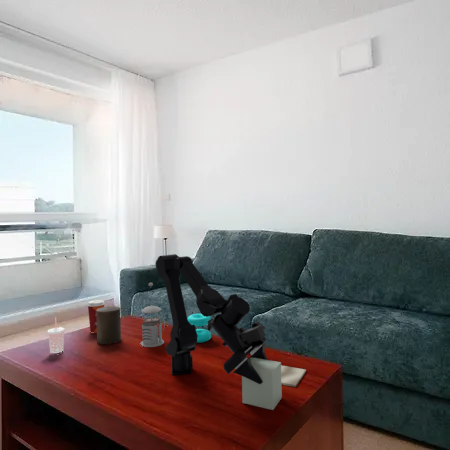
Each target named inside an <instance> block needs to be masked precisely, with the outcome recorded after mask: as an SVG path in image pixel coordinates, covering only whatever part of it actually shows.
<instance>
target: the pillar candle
mask: <svg viewBox="0 0 450 450" xmlns="http://www.w3.org/2000/svg"><path fill="white" fill-rule="evenodd" d="M121 321H122V320H121V307H120V306H109V305H108V306H104V307H103V308H99V309H97V334H96V341H97V344H99V343H100V345H103V344H107V345H111V344H110V343H114V344H116V343H115V342H117V343H119V342H121V340H122V330H121V329H122V328H121V326H122V325H121Z"/></svg>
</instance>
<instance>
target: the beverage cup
mask: <svg viewBox="0 0 450 450" xmlns="http://www.w3.org/2000/svg"><path fill="white" fill-rule="evenodd" d="M54 318H55V319H54V324H55V326H54V327H53V328H49V329H48V330H47V336H48V345H49V353H59V352H62V351H63V352H64V341H65V340H64V339H65V331H66V330H65V327H60V326H59V327H58V325H57V316H54Z"/></svg>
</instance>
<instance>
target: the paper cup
mask: <svg viewBox="0 0 450 450" xmlns="http://www.w3.org/2000/svg"><path fill="white" fill-rule="evenodd" d="M105 304H106V303H105V301H104V300H103V299H95V300H90V301H88V302H87V305H86V306H87V308H88V309H87V310H88V312H87V313H88V320H89V323H88V324H89V329H90V331H91V332H94V333H97V309H99V308H103V307H105ZM91 332H90V333H91Z"/></svg>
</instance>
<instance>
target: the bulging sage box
mask: <svg viewBox="0 0 450 450" xmlns="http://www.w3.org/2000/svg"><path fill="white" fill-rule="evenodd" d="M251 364H252V366H253V367H254V369H255V370H256V372H257V373H258V375H259V376H260V378H261V379H262V381H263V382H262V383H261V384H258V383H256V382H254V381H252V380H250V379H248V378H246V377H243V376H241V387H242V388H241V392H242V393H241V394H242V397H241V398H242V400H241V401H242V404H247V405H250V406H254V407H258V408H262V409H267V410H272V411H274V409H275V408H276V407H277V405H278V403H280V400H282V398H283V397H282V395H283V394H282V391H283V390H282V384H281V365H282V362H280V361H275V360H271V359H269V360H265V359H259V358H253V357H252V358H251Z"/></svg>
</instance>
